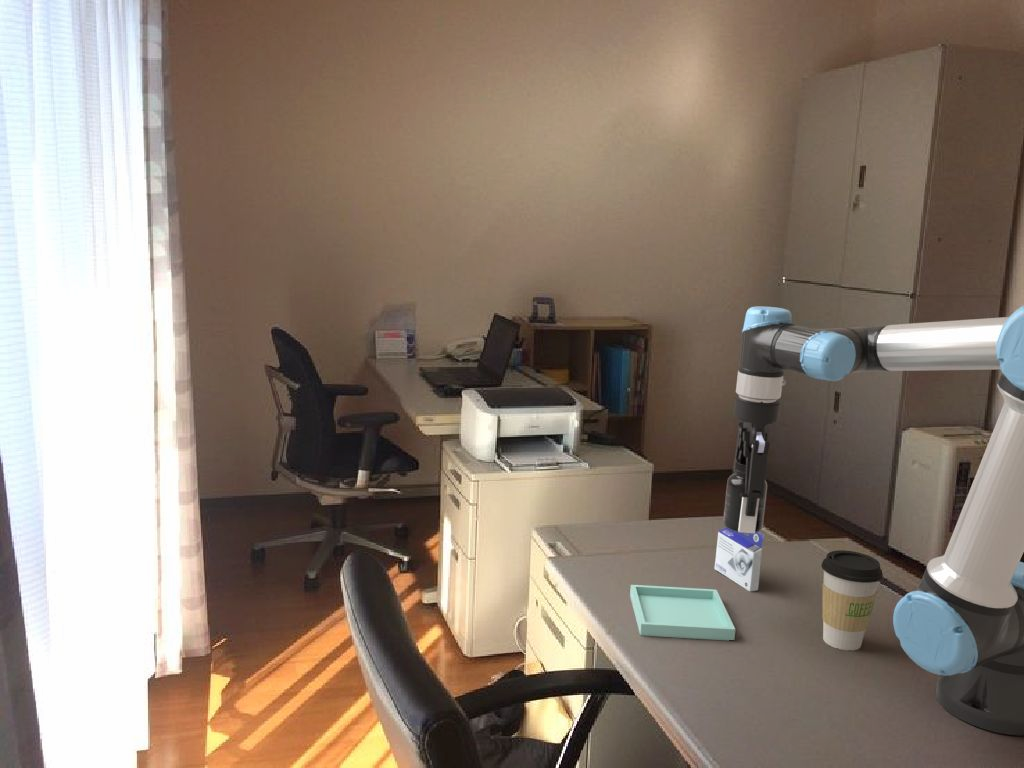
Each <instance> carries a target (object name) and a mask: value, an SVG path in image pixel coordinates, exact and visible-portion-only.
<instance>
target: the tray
mask: <svg viewBox="0 0 1024 768" xmlns="http://www.w3.org/2000/svg"><path fill="white" fill-rule="evenodd" d="M629 590H630V591H629V598H630V601H631V605H632V609H633V612H634V616H635V620H636V621H635V622H636V624H637V628H638V632H639V635H640V636H643V637H644V636H646V637H661V638H662V637H664V638H682V639H683V638H684V639H696V640H698V639H699V640H715V641H717V640H718V641H729V640H734V641H735V636H736V628H735V626H734V623H733V621H732V618H731V617H730V615H729V612H728V610H727V608H726V607H725V604H724V602H723V600H722V598H721V595H720V594H719V592H718V590H717V589H715V588H714V589H711V588H694V587H677V586H662V585H661V586H659V585H640V584H630V589H629Z"/></svg>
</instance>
